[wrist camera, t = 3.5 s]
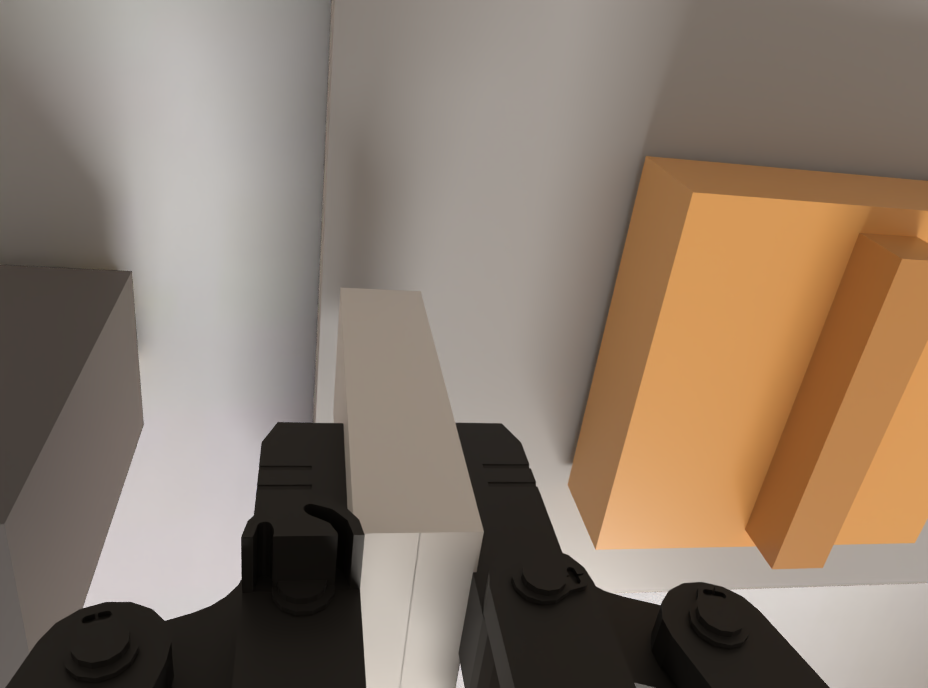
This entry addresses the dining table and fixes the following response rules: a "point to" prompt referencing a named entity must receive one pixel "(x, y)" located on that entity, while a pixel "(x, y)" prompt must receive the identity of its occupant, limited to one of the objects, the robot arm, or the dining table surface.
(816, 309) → the orange ridged block
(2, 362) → the plug
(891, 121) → the socket plate
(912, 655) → the dining table surface
